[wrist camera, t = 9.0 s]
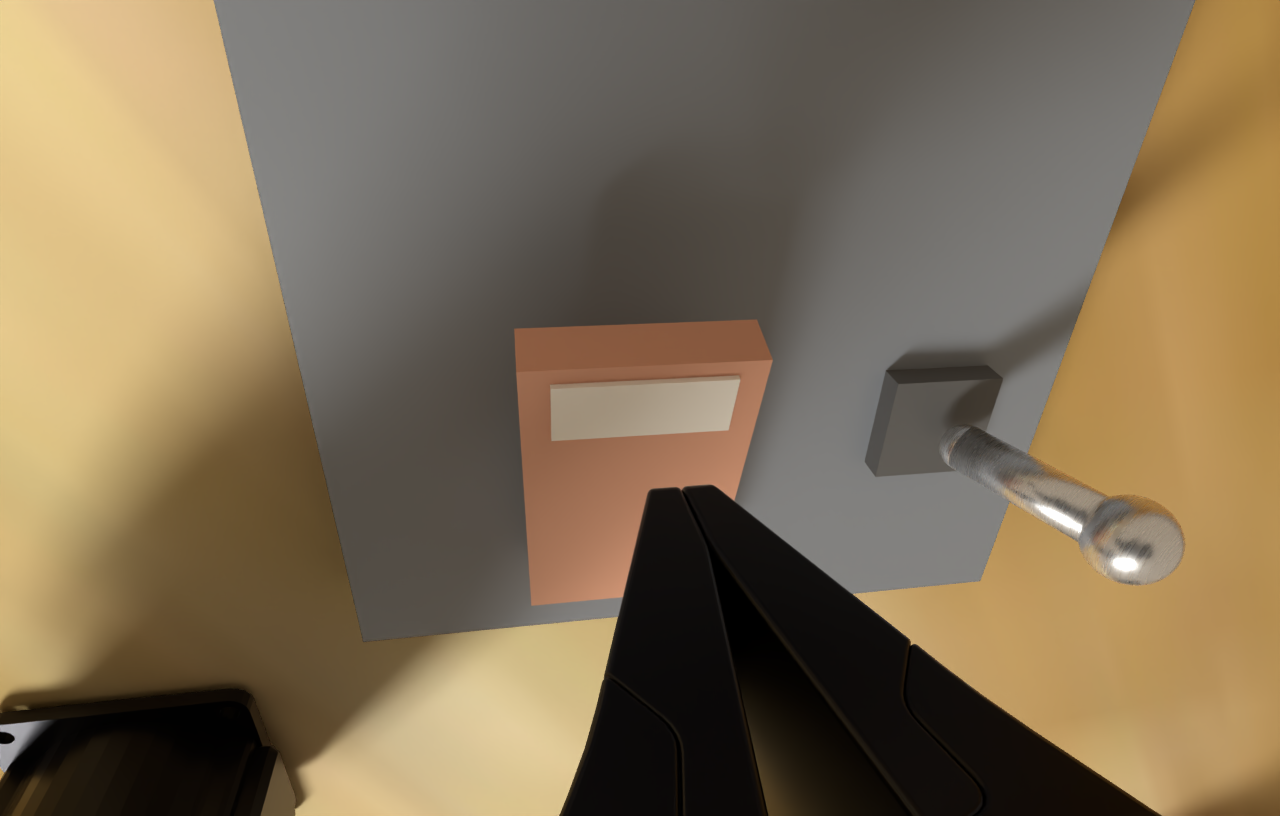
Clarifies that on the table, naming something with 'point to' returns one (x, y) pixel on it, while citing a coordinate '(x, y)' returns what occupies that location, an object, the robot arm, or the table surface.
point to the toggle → (1073, 507)
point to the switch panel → (683, 249)
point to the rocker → (625, 436)
